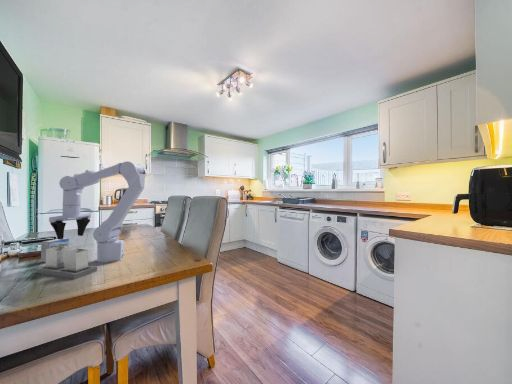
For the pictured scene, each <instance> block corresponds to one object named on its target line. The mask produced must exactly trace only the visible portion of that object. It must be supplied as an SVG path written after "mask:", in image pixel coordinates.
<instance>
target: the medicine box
mask: <svg viewBox="0 0 512 384" xmlns="http://www.w3.org/2000/svg"><path fill="white" fill-rule="evenodd" d="M69 245H70V238H68V237H63V239H58V238H55V239H50V240H45V241H41V243H40V248H41V249H40V262H41V263H46V249H50V248H55V247H68V248H70V246H69Z"/></svg>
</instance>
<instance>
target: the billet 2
mask: <svg viewBox="0 0 512 384" xmlns="http://www.w3.org/2000/svg"><path fill="white" fill-rule="evenodd" d="M88 266H89V249H84V248H74V249H70V250H69V251H65V253H64V271H66V272H72V273H77V272H80V271H83V270H86V269H88Z"/></svg>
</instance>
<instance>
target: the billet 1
mask: <svg viewBox="0 0 512 384" xmlns="http://www.w3.org/2000/svg"><path fill="white" fill-rule="evenodd" d="M69 250H71V248H70V247H69V248H68V247H55V248H50V249H46V262H45V266H46V269H53V270H59V269H62V268H64V253H65V251H69Z"/></svg>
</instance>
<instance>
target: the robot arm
mask: <svg viewBox="0 0 512 384" xmlns="http://www.w3.org/2000/svg"><path fill="white" fill-rule="evenodd" d="M117 175H121V176H122V177H123V178H124V180H125V181H126V183H127V185H128V187H127V189H126V190H125V192H124V193H123V195H122V197H120V199H119V201H118V203H117V204H116V206H115V207H114V209H113V210H112V212H111V213H110V215H109V216H108V218H106V219H105V220H104V221H103V222H101V224H100V225H99V226H98V227H96V228H94V230H93V232H92V237H93V239H94V240H95V241H96V246H97V247H96V254H97V255H96V262H97V263H107V262H108V263H109V262H116V261H121V260H123V258H124V257H125V241H124V239H119V236H121V233H122V229H123V226H124V223H123V221H124V220H125V218H126V217H127V215H128V214H129V212H130V211H131V209H132V208H133V206H134V204H135V203H136V201H137V200H138V199H139V197H140V195H141V194H142V192H143V191H144V188H145V181H146V180H145V179H146V178H145V177H146V175H147V172H146V169H145V167H144V166H143V165H141V164H139V163H134V162H132V161H123V162H119V163H117V164H114V165H112V166H108V167H106V168H104V169H103V168H102V169H100V170H98V171H95V170H90V169H87V170H85V172H82V173H75V174H73V176H72V175H65V176H63V177H61V179H59V187H60V188H61V189H62V215H58V216H57V215H56V216H49V217H48V222H49V223H50V224H49V225H51V227H52V228H53V230H54V232H55V235H56V239H63V238H65V237H64V236H65V235H64V234H65V229H66V228H65V227H66V225H67V221H76V225H77V236H80V237H82V236H84V233H85V230H86V228H87V226H88V225H89V223H90V222H91V217H92V215H91V213H81V208H82V207H81V206H82V205H81V204H82V203H81V201H82V197H81V196H82V194H83V190H84V188H86V187H90V186H93V185H96V184H99V182H100V181H101V180H103V179H106V178H110V177H113V176H117Z"/></svg>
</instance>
